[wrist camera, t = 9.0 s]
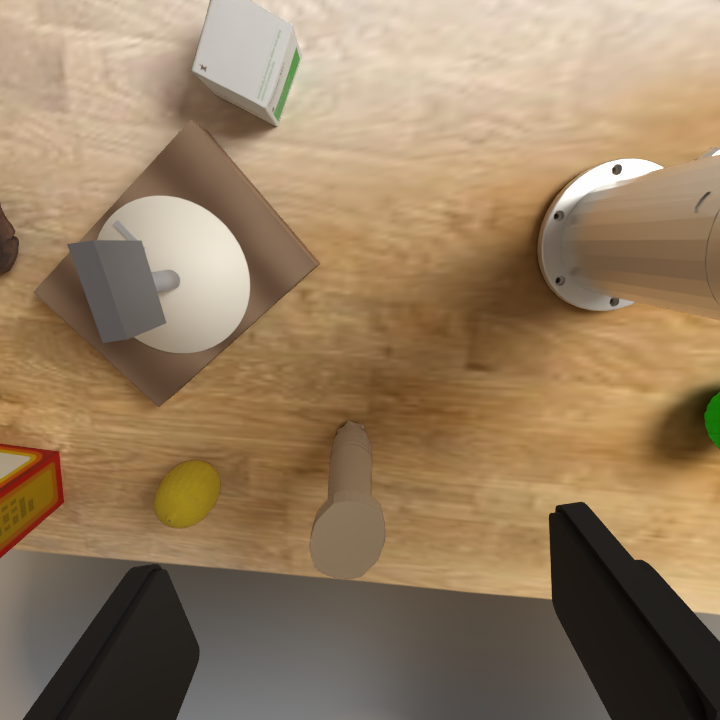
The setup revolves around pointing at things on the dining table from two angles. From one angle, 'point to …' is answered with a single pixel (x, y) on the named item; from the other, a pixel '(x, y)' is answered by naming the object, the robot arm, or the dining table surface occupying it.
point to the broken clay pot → (7, 244)
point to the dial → (187, 270)
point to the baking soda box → (26, 491)
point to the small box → (248, 57)
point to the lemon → (187, 494)
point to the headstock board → (241, 216)
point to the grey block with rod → (121, 287)
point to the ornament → (713, 419)
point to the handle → (348, 510)
